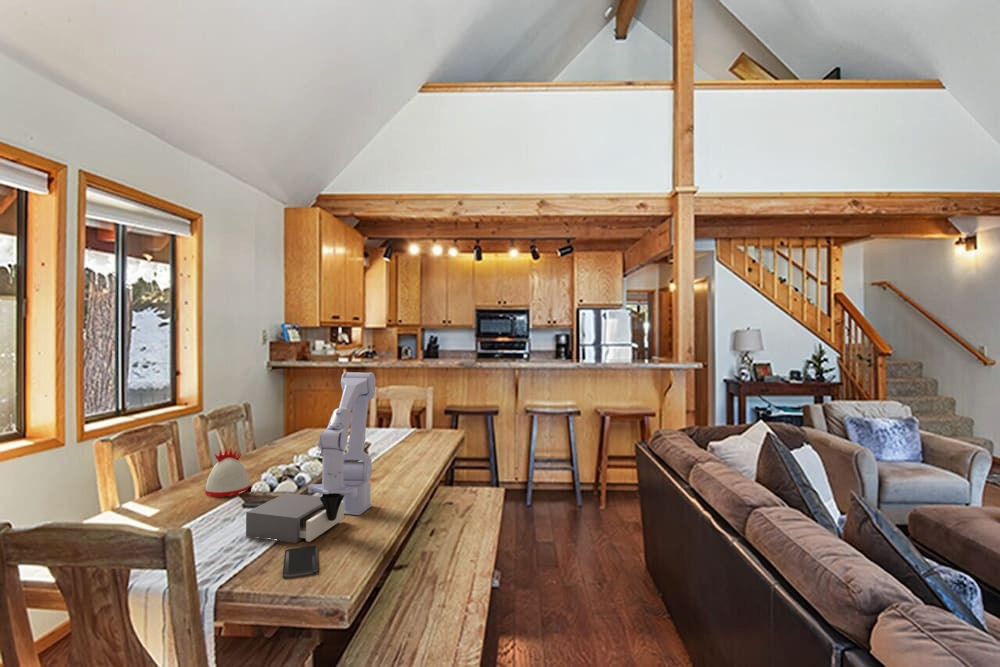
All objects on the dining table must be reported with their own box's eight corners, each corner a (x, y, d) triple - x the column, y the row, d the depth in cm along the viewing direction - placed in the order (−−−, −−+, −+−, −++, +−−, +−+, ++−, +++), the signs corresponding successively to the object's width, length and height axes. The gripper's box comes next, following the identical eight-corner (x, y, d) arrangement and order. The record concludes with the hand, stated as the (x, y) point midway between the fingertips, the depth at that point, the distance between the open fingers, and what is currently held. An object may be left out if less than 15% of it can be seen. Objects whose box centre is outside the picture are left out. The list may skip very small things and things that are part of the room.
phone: (282, 576, 117) (285, 549, 131) (282, 580, 117) (285, 553, 131) (318, 571, 120) (317, 545, 134) (318, 575, 120) (317, 549, 134)
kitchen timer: (205, 488, 182) (206, 446, 181) (248, 482, 188) (248, 442, 188) (205, 499, 169) (205, 454, 169) (250, 493, 176) (251, 450, 176)
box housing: (331, 520, 153) (332, 497, 153) (296, 543, 137) (297, 518, 137) (285, 514, 157) (285, 493, 157) (245, 536, 140) (246, 512, 140)
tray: (343, 518, 152) (344, 500, 152) (309, 541, 136) (310, 521, 136) (297, 513, 156) (297, 495, 156) (258, 534, 139) (259, 515, 139)
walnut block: (323, 523, 146) (324, 510, 146) (315, 529, 143) (315, 515, 143) (311, 522, 147) (311, 508, 147) (303, 527, 144) (303, 513, 144)
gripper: (301, 473, 141) (301, 521, 141) (348, 477, 138) (347, 527, 138) (316, 466, 148) (315, 513, 148) (361, 470, 145) (360, 518, 145)
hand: (332, 519), depth 144 cm, fingers closed
